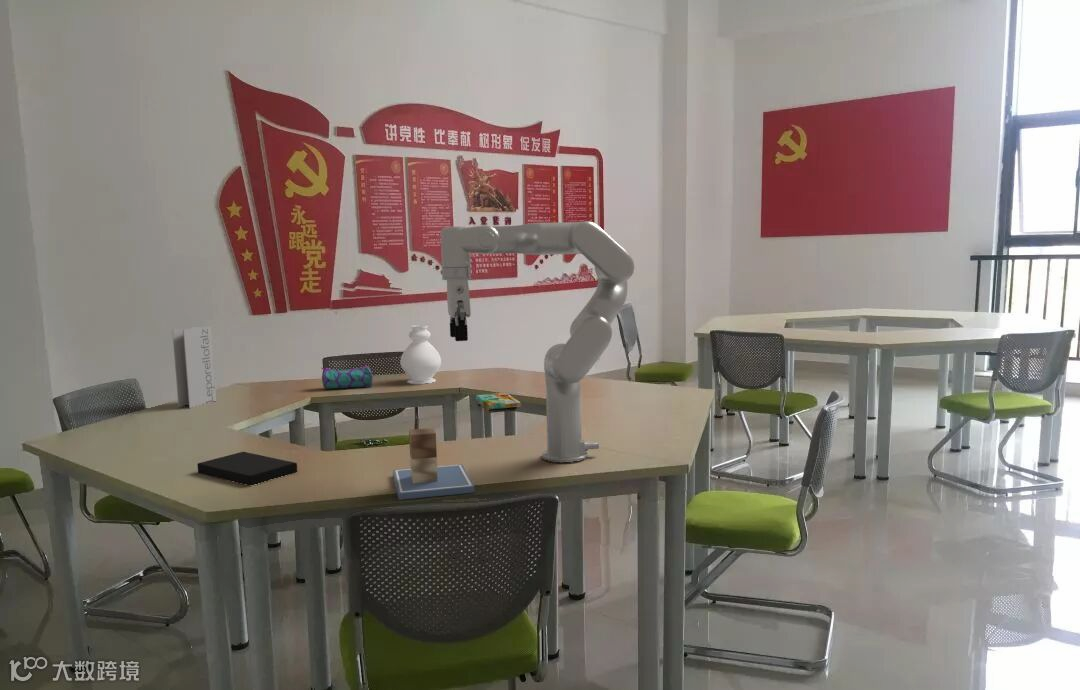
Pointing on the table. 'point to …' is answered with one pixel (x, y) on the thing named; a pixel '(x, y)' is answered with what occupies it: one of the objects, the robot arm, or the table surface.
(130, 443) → the table surface
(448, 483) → the blueprint board
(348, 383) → the pencil case
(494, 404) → the puzzle game
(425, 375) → the decorative vase
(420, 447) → the walnut block
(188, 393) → the brochure
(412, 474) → the maple base block
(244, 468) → the external hard drive
